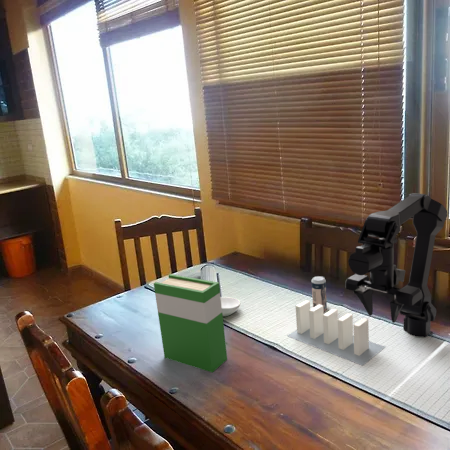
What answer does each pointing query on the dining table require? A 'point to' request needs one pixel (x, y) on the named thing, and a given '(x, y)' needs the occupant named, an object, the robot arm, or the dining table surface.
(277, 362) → the dining table surface
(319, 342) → the domino board
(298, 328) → the domino
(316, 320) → the domino
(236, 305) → the spoon rest
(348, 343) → the domino
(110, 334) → the dining table surface
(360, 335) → the domino
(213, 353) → the hardback book
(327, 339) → the domino
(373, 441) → the dining table surface
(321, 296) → the spice jar
